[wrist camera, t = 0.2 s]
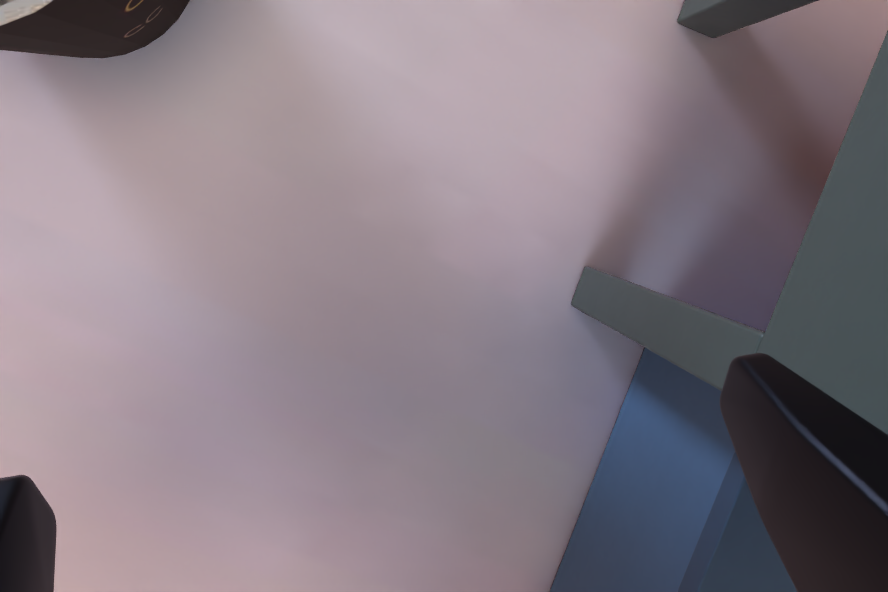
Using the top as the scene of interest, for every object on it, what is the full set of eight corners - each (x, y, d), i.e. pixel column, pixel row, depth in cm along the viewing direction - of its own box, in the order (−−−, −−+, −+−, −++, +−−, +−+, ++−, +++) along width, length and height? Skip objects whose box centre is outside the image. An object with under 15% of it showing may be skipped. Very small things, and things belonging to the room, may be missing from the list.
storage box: (763, 673, 29) (921, 860, 21) (536, 613, 27) (615, 790, 19) (882, 394, 28) (1096, 481, 20) (652, 313, 26) (787, 373, 18)
